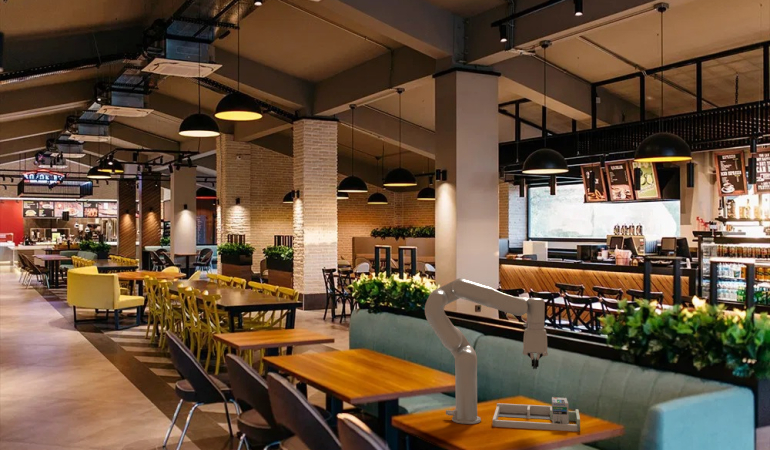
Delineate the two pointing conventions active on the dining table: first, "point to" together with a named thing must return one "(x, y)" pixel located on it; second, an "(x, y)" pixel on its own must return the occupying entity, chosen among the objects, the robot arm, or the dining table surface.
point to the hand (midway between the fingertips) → (535, 368)
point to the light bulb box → (560, 410)
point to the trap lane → (532, 417)
